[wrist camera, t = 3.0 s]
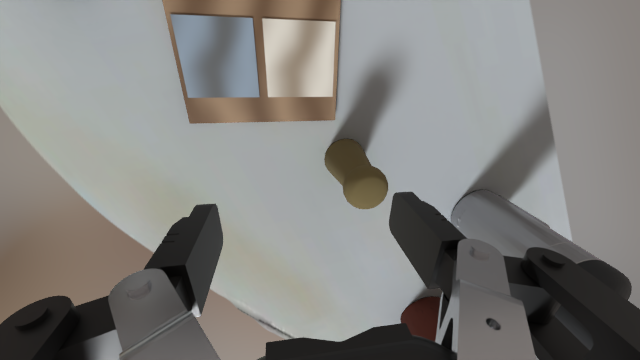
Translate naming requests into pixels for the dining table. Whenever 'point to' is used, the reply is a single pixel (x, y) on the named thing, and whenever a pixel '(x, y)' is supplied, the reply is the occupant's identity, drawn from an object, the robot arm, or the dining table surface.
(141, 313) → the robot arm
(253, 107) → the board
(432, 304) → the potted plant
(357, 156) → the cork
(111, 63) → the dining table surface
